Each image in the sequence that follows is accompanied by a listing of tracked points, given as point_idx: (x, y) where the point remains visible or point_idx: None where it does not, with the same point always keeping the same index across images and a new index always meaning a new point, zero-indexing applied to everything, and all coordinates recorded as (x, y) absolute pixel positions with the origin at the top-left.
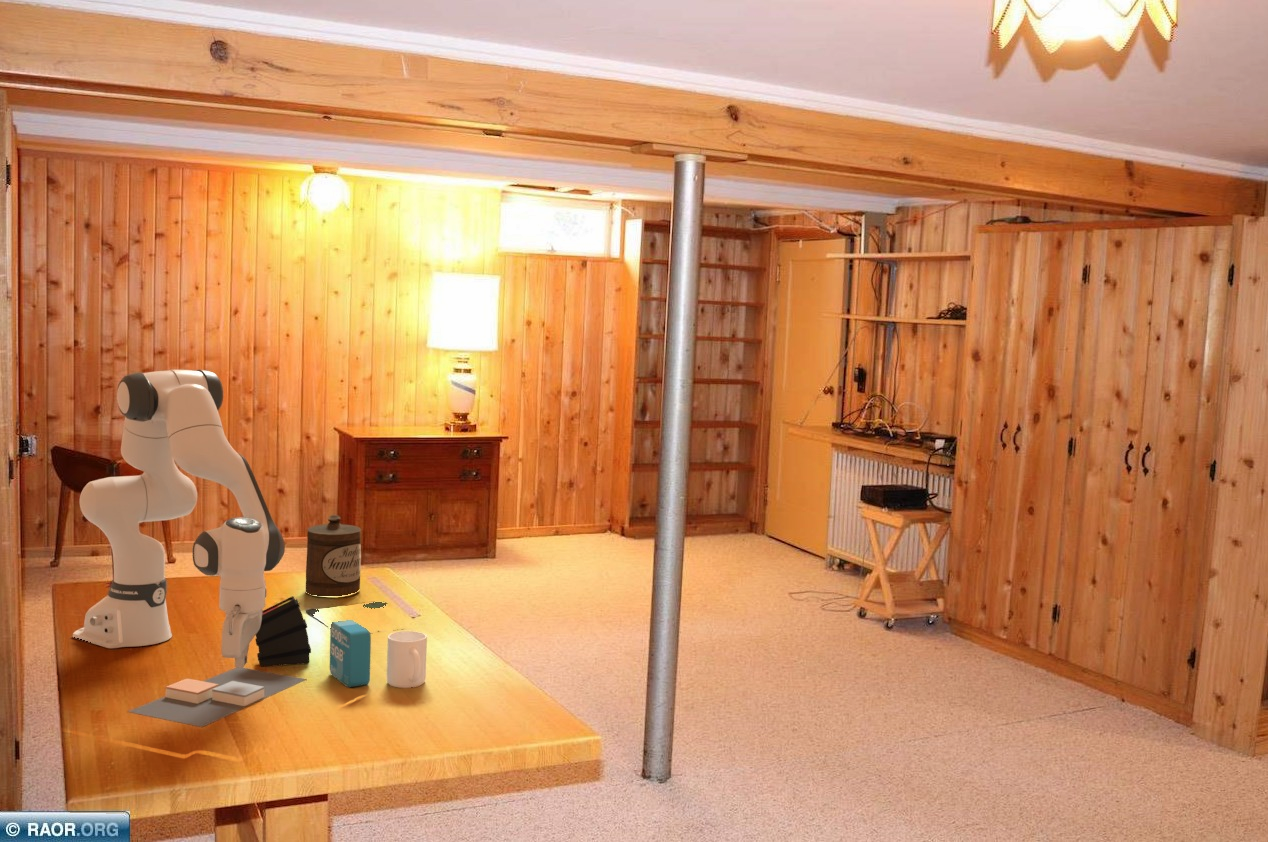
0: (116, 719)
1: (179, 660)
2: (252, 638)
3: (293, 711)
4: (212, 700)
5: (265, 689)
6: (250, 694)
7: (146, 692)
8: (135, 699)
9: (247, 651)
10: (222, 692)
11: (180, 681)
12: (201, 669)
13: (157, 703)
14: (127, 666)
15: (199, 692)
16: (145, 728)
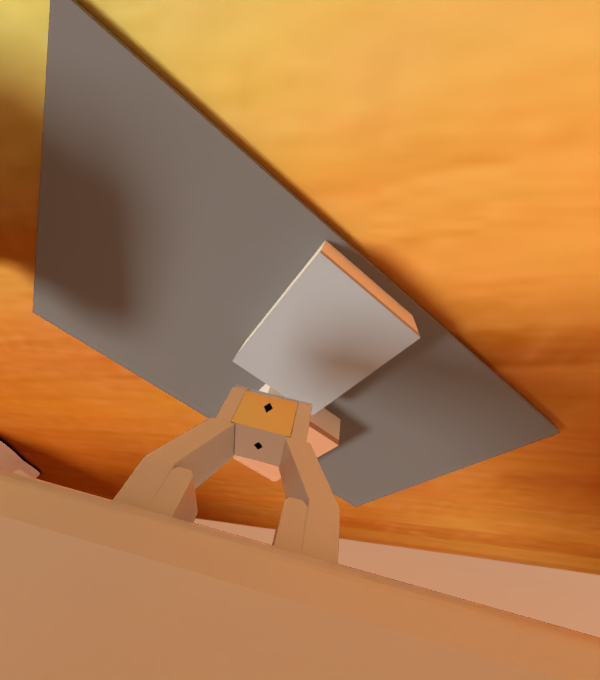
0: (376, 512)
1: (42, 408)
2: (111, 524)
3: (562, 64)
4: None
5: (229, 233)
6: (392, 311)
7: (232, 466)
8: (271, 481)
9: (210, 440)
10: (341, 392)
11: (237, 458)
12: (76, 381)
13: None
14: (105, 467)
15: (333, 440)
16: (456, 495)
